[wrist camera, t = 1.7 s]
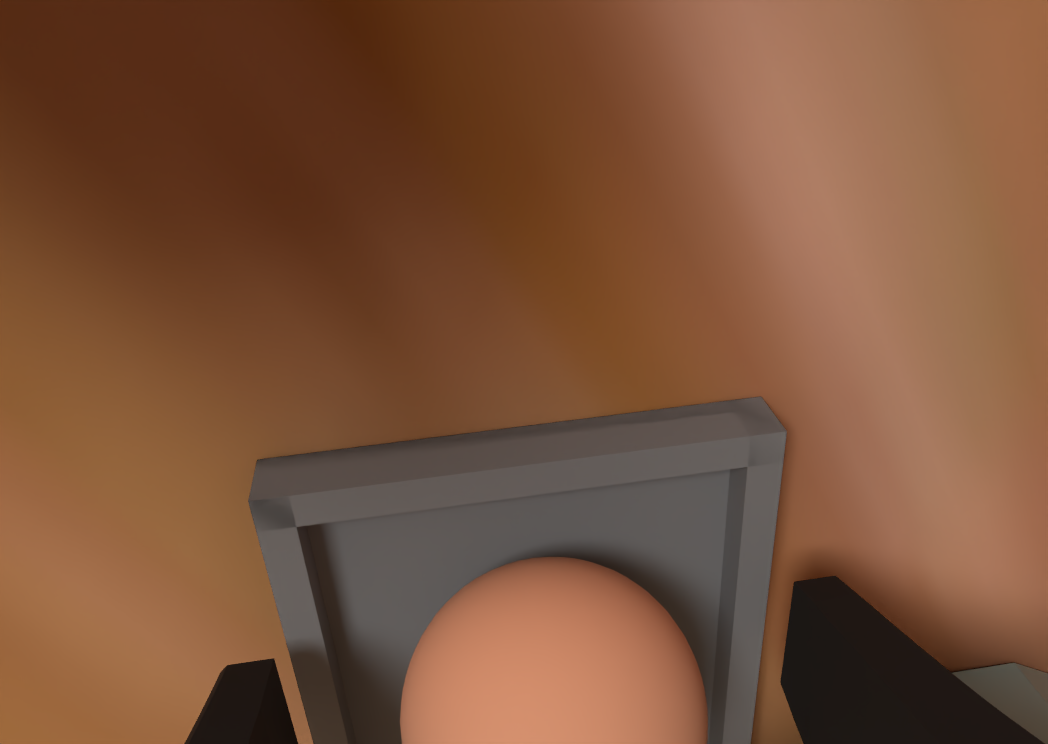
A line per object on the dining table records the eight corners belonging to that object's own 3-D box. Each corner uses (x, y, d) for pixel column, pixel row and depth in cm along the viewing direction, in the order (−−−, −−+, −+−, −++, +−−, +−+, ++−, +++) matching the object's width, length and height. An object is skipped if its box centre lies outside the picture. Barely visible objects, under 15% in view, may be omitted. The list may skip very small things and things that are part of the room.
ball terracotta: (662, 479, 12) (771, 711, 9) (656, 674, 14) (743, 925, 11) (380, 517, 12) (380, 773, 8) (414, 711, 14) (425, 983, 10)
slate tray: (760, 396, 12) (786, 431, 11) (714, 882, 18) (729, 926, 17) (257, 459, 12) (248, 501, 11) (380, 942, 18) (380, 992, 17)
